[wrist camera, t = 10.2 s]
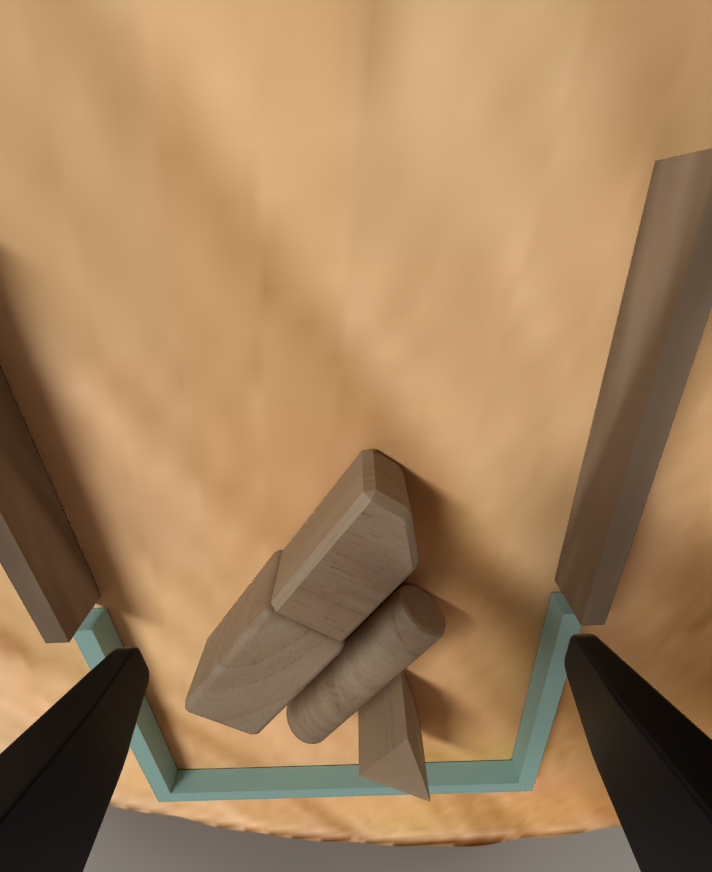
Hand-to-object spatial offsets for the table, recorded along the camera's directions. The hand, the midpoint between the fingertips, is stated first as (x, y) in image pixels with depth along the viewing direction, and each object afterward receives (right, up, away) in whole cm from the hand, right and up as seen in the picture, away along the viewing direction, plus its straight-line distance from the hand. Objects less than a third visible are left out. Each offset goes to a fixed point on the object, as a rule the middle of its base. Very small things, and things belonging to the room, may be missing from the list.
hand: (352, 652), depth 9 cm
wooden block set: (+2, -6, +17) cm, 18 cm away
